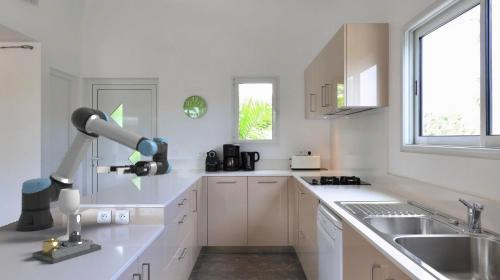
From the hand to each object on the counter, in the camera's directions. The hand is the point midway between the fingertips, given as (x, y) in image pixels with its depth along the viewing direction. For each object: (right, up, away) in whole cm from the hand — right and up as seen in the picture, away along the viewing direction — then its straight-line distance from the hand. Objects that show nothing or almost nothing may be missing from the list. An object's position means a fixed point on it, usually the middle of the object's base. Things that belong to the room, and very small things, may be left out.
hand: (106, 170), depth 137 cm
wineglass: (-16, -29, 0) cm, 34 cm away
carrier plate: (-5, -29, -20) cm, 35 cm away
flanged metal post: (-5, -27, -17) cm, 32 cm away
